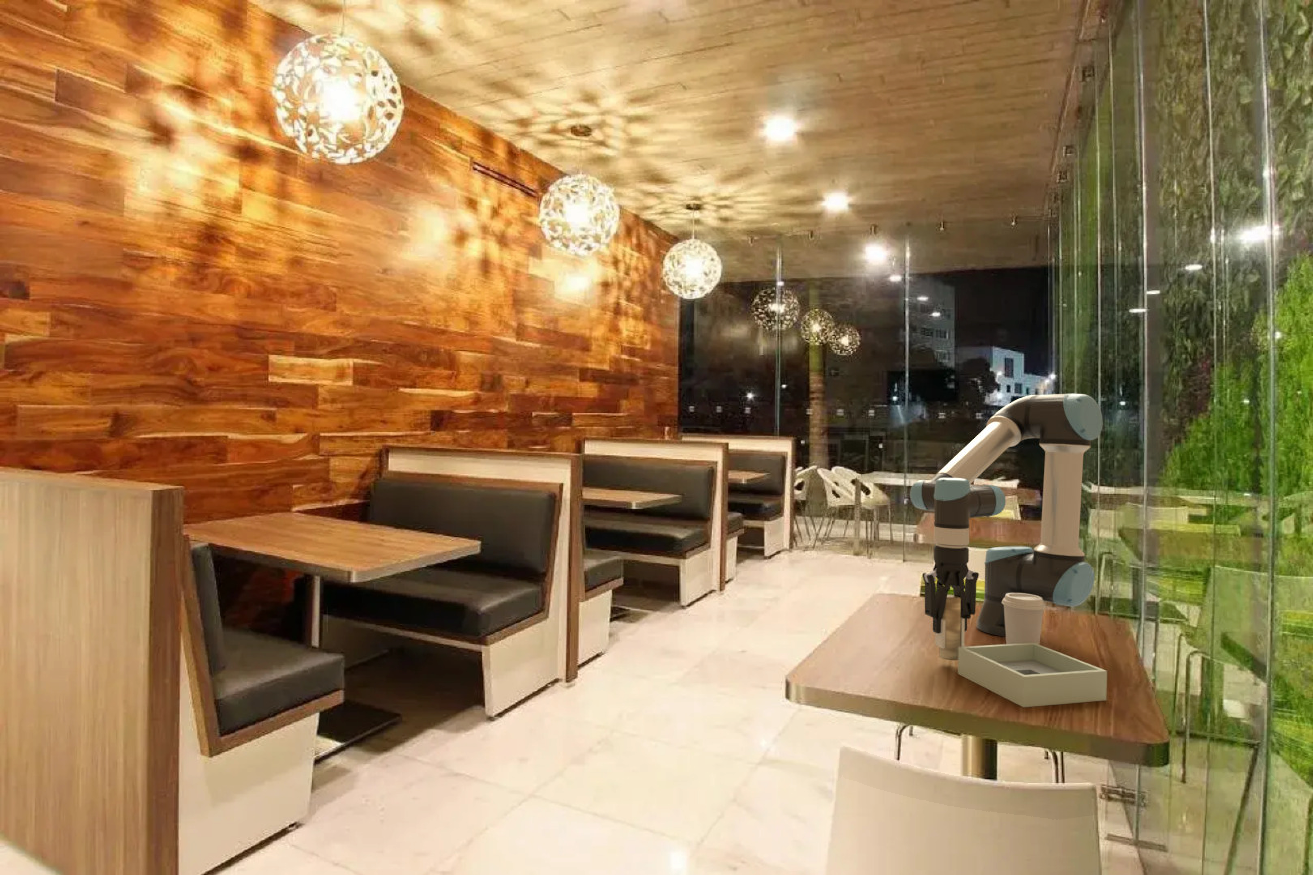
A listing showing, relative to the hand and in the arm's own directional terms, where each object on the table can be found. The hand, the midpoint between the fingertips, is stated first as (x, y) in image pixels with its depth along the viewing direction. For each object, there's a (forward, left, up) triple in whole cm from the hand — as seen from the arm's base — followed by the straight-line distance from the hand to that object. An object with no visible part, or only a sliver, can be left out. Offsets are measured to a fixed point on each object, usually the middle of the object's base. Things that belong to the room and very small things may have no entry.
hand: (949, 645), depth 169 cm
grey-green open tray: (-9, +15, -5) cm, 18 cm away
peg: (0, 0, -3) cm, 3 cm away
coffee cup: (-22, -2, -5) cm, 22 cm away
